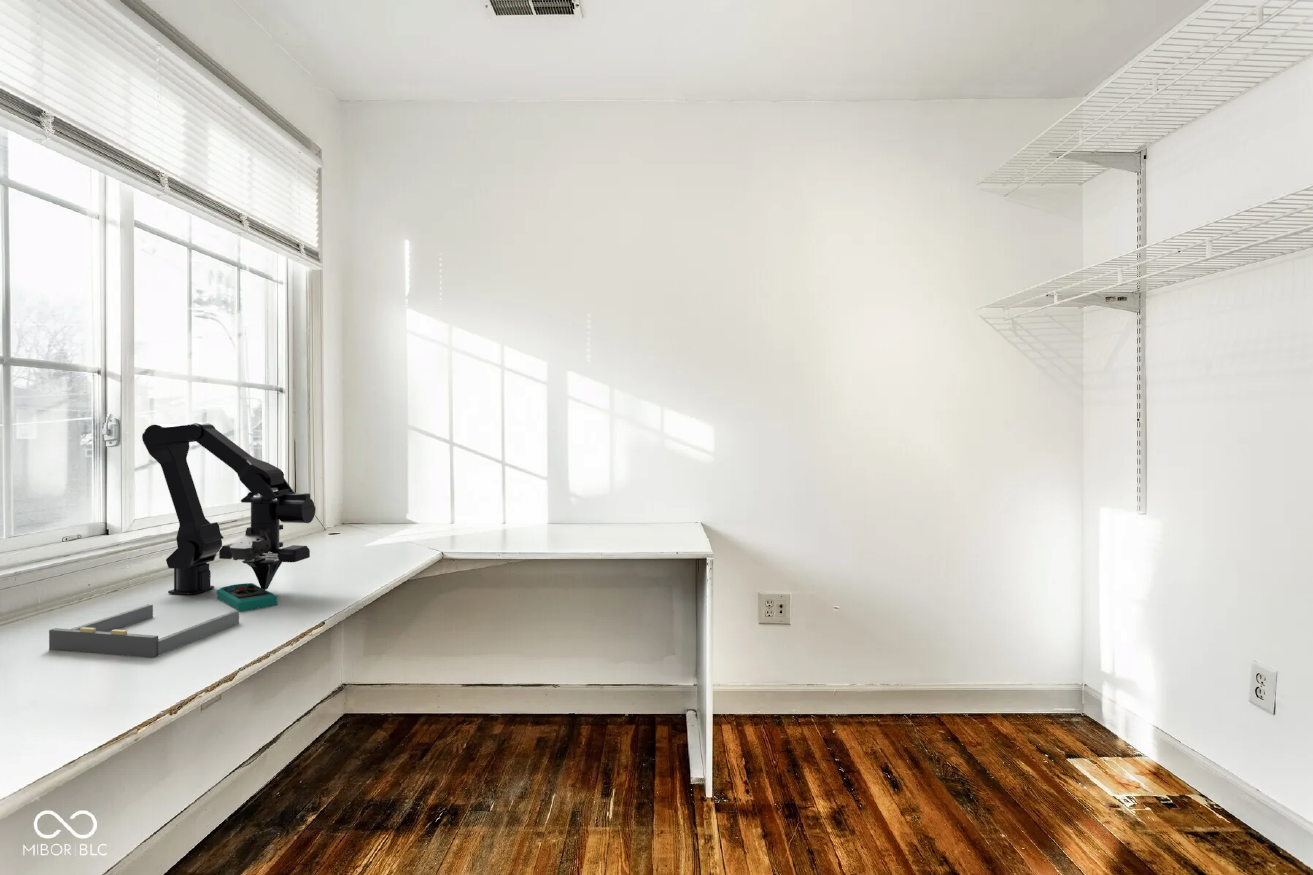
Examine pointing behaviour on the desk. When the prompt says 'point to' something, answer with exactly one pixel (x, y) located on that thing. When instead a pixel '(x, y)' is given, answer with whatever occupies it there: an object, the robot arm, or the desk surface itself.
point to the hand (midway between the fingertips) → (264, 589)
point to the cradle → (132, 635)
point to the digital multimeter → (246, 597)
